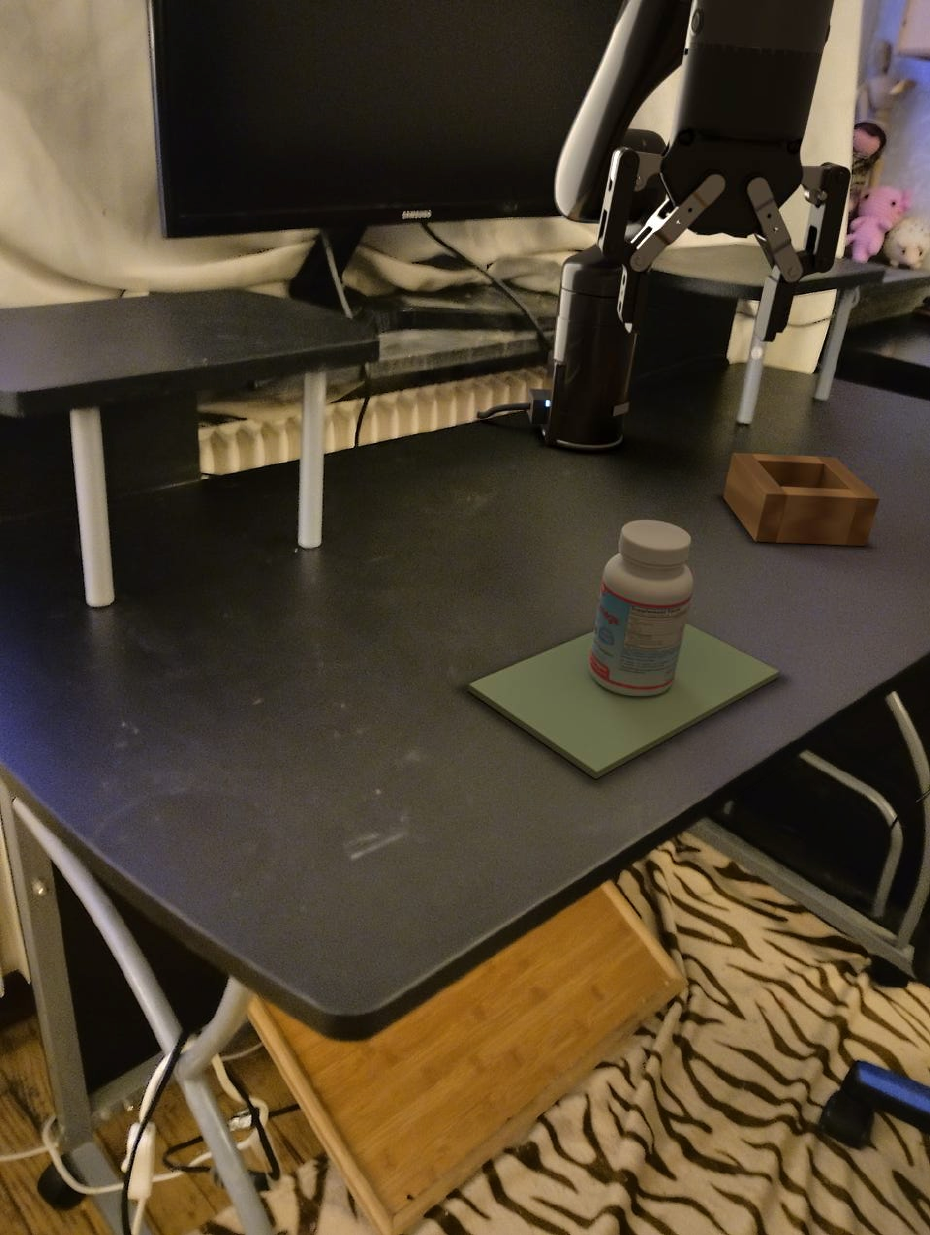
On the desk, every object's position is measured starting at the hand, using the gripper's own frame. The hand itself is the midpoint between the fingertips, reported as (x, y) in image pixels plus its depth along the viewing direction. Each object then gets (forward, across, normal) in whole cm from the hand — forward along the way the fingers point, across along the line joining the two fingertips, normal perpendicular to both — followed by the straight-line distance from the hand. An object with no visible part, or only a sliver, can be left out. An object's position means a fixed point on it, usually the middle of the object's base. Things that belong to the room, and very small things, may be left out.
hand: (698, 334), depth 63 cm
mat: (+24, +2, +5) cm, 24 cm away
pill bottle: (+23, +2, +5) cm, 24 cm away
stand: (+24, -21, -26) cm, 41 cm away
